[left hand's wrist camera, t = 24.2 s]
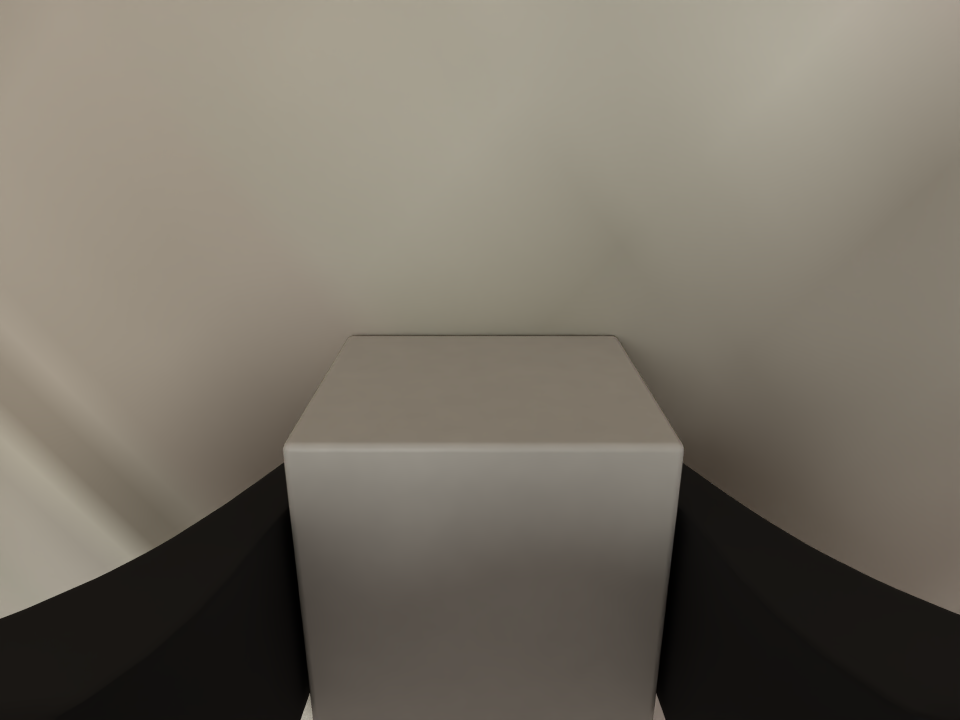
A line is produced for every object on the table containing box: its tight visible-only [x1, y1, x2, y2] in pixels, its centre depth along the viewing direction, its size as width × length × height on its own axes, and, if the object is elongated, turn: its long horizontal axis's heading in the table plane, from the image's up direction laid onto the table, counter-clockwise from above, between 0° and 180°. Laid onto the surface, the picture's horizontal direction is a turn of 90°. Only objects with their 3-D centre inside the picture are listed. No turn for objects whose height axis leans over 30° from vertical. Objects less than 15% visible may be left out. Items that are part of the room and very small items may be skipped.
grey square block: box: [283, 336, 684, 720], centre depth 10 cm, size 5×5×4 cm
